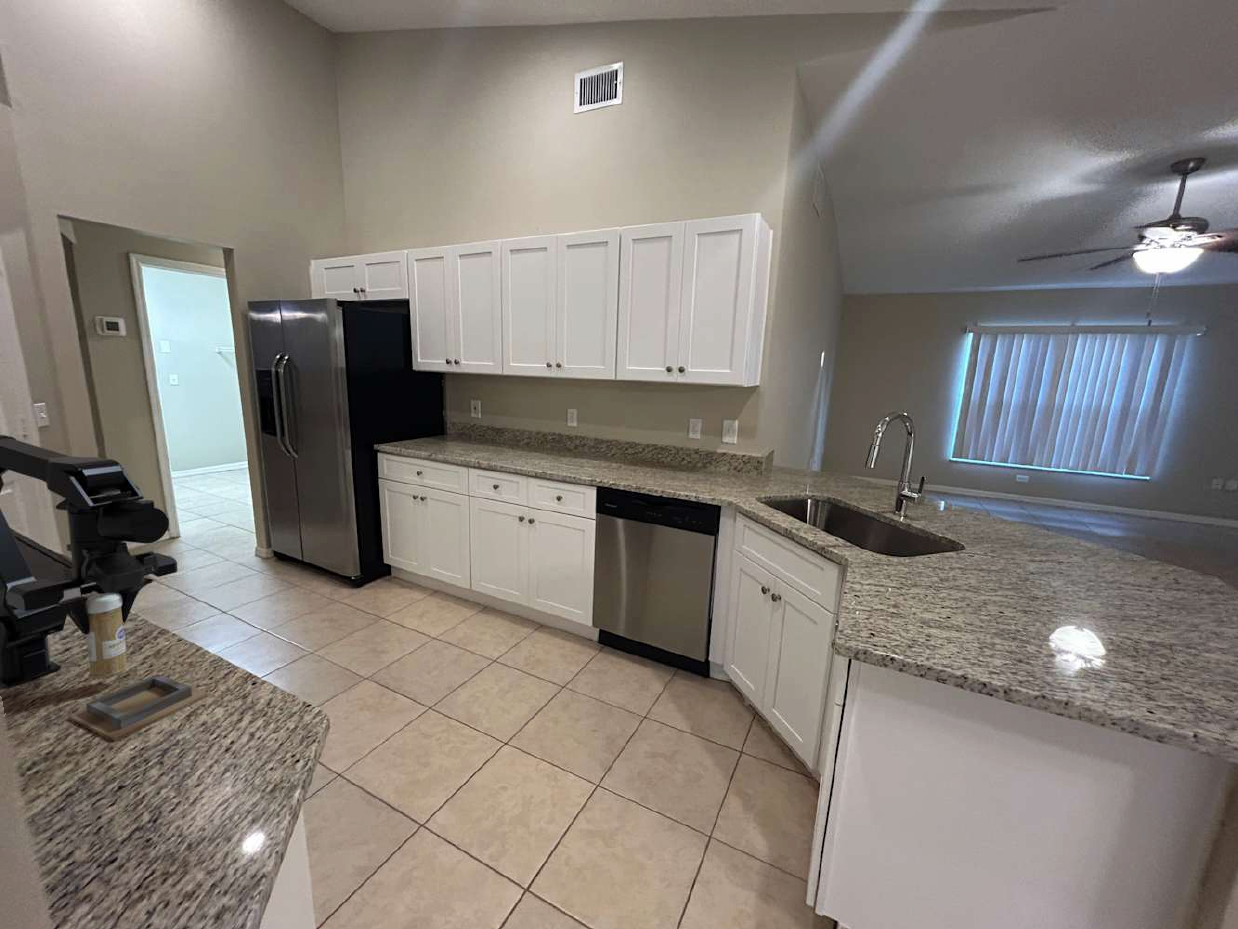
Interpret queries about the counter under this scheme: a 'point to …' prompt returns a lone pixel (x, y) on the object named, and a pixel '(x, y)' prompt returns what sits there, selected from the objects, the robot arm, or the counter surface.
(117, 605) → the sprinkles bottle
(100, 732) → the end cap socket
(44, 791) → the counter surface
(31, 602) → the robot arm
